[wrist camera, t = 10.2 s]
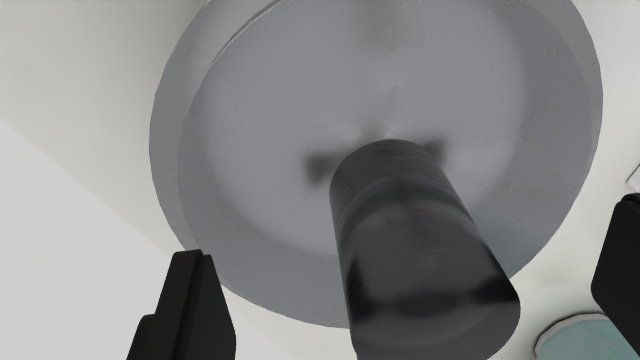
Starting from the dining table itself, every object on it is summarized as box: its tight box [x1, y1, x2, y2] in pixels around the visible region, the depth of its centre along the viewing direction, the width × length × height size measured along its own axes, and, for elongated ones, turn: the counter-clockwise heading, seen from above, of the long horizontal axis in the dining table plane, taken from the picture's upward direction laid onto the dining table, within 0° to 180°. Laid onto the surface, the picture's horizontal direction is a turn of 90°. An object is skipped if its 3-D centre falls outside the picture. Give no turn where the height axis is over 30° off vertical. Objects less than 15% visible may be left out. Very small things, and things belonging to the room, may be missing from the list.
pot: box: [149, 0, 603, 360], centre depth 18 cm, size 20×14×9 cm
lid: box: [177, 0, 592, 360], centre depth 11 cm, size 12×12×6 cm
